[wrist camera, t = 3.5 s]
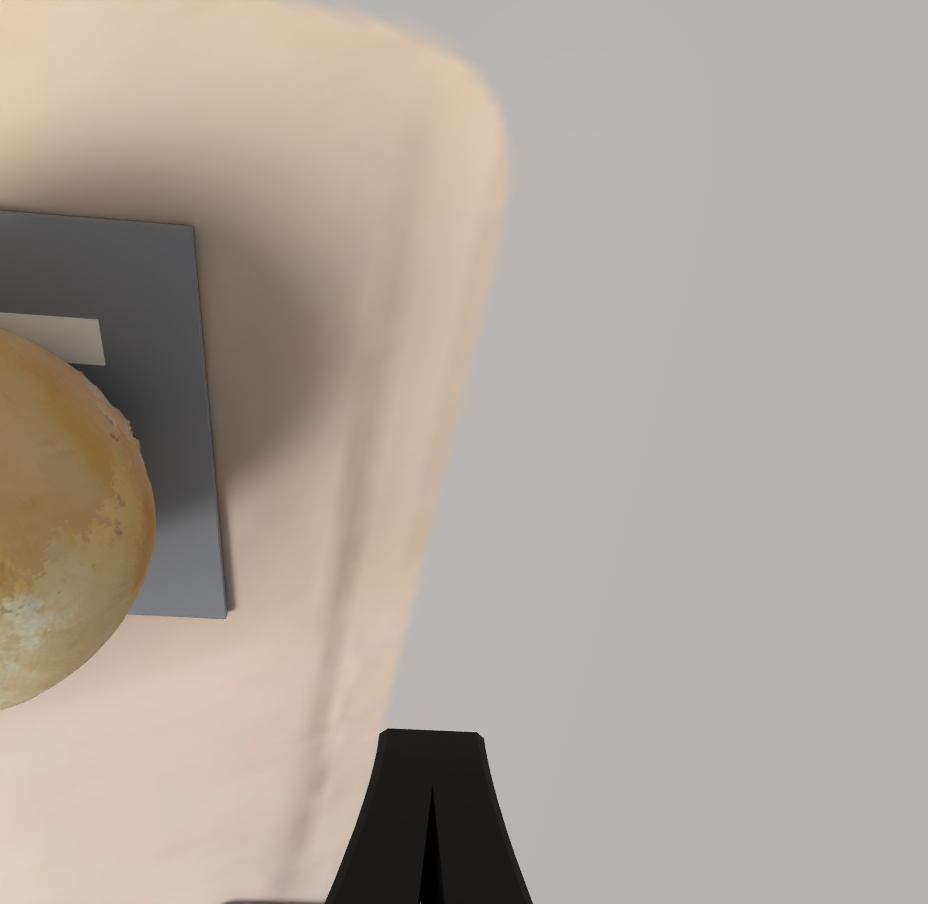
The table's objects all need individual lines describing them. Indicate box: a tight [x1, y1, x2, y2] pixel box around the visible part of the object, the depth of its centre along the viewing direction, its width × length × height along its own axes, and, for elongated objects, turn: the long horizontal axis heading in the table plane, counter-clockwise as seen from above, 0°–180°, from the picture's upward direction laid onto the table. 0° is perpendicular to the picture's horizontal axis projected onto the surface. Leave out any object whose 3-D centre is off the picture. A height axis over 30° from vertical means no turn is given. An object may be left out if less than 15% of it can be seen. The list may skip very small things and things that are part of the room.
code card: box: [0, 210, 228, 619], centre depth 18 cm, size 9×10×1 cm
